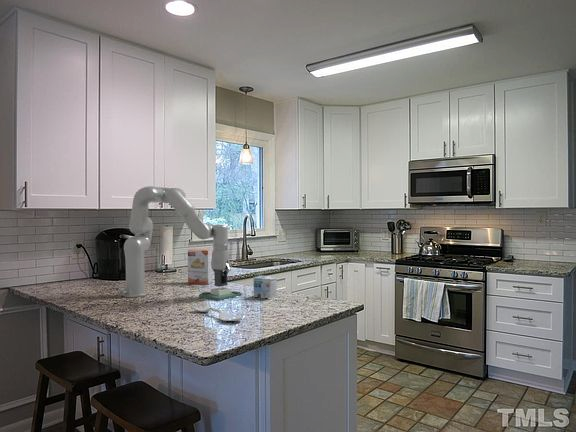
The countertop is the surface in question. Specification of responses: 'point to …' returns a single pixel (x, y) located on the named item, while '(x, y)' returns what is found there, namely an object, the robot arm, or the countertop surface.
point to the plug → (218, 278)
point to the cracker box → (199, 266)
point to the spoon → (221, 314)
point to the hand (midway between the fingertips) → (221, 282)
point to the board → (220, 293)
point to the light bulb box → (265, 286)
